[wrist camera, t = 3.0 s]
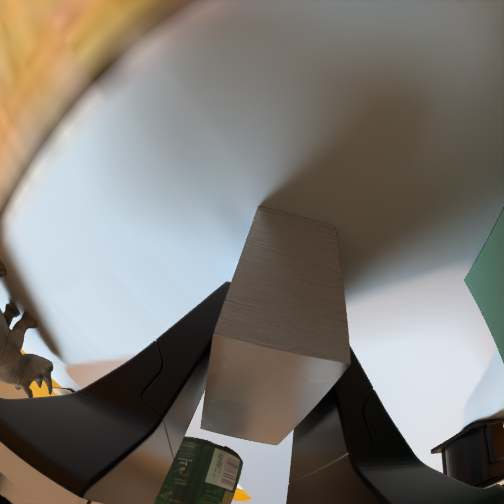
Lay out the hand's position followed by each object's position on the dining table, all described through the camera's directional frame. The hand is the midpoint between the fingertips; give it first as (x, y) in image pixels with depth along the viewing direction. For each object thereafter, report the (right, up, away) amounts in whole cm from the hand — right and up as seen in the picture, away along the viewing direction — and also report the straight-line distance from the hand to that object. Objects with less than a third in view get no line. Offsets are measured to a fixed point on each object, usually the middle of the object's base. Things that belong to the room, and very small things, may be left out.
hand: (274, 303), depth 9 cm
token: (0, +1, +1) cm, 1 cm away
